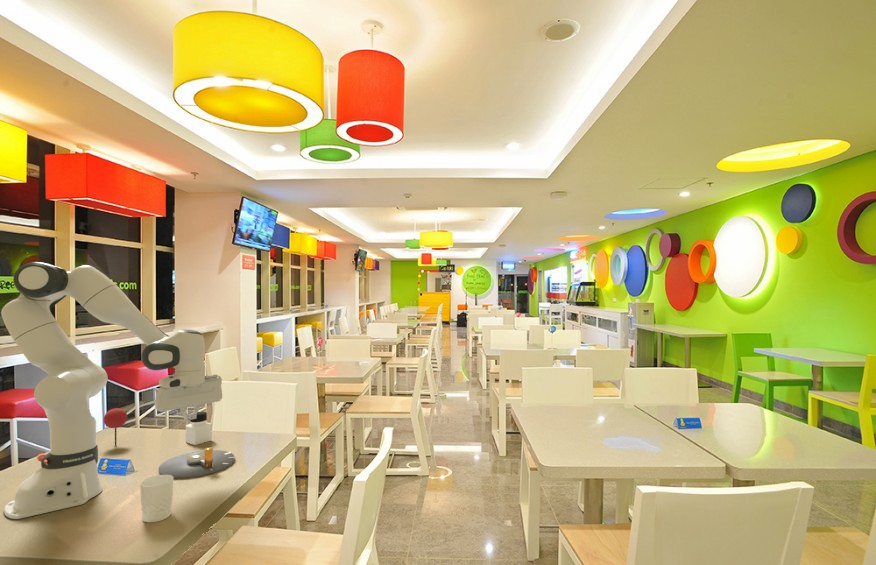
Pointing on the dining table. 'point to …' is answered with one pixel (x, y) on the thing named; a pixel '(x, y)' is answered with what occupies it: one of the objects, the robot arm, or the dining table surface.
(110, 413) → the lollipop
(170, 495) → the white cup
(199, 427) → the white square bottle
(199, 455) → the dial
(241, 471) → the dining table surface
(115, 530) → the dining table surface
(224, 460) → the dial plate
